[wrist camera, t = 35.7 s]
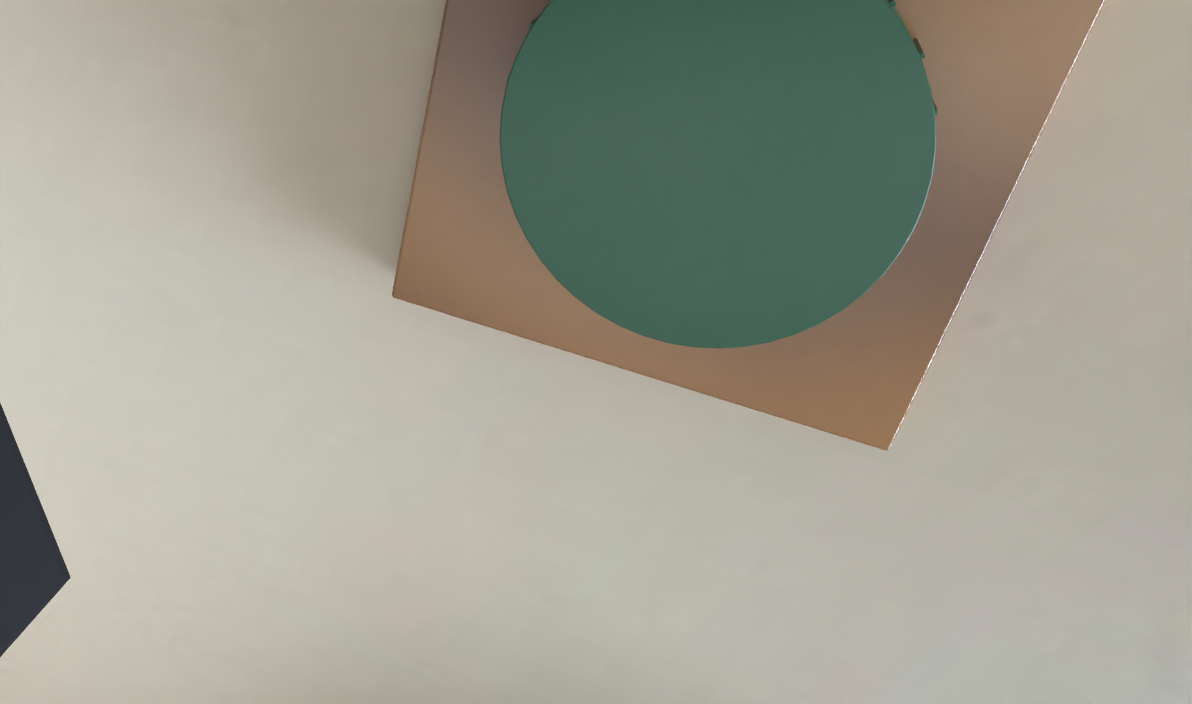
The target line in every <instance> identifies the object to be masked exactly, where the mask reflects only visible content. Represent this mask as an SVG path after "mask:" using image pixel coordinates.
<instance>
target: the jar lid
mask: <svg viewBox="0 0 1192 704" xmlns="http://www.w3.org/2000/svg"><path fill="white" fill-rule="evenodd" d="M896 5H897V4H896V2H895V0H551V1H550V2H549V3H548V5H547V6H546V7H545V8H544V9H543V11H542V12H541V14H539V15H538V16H537V17H536V18H535V19H534V20H533V21H532V22H531V23H530V24H529V26H528V27H529V28H530V30H529V31H528V33H527V35H526V37H525V39H524V41H523V43H522V45H521V47H520V49H519V51H518V53H517V55H516V57H515V60H514V63H513V66H512V69H511V72H510V73H509V74H508V77H507V79H508V81H507V84H506V89H505V94H504V99H503V104H502V109H501V123H500V151H501V164H502V169H503V175H504V180H505V185H506V190H507V193H508V196H509V199H510V202H511V205H512V208H513V211H514V214H515V216H516V218H517V220H518V222H519V224H520V226H521V228H522V231H523V233H524V235H525V237H526V239H527V240H528V242H529V243H530V245H531V246H532V248H533V250H534V251H535V253H536V254H537V256H538V257H539V259H540V260H541V262H542V263H543V264H544V265H545V266H546V268H547V269H548V270H549V271H550V272H551V274H552V275H553V276H554V277H555V278H556V280H557V281H559V282H560V283H561V284H562V285H563V286H564V287H565V288H566V289H567V290H568V291H569V292H570V293H571V294H572V295H573V296H574V297H576V298H577V299H578V300H580V301H581V302H582V303H584V304H585V305H586V306H588V307H589V308H590V309H592V310H593V311H594V312H596V313H597V314H599V315H601V316H603V317H604V318H606V319H608V320H610V321H611V322H613V323H615V324H617V325H618V326H621V327H623V328H625V329H628V330H630V331H633V332H635V333H637V334H640V335H642V336H645V337H649V338H652V339H655V340H659V341H662V342H666V343H671V344H676V345H682V346H688V347H697V348H716V349H721V348H737V347H748V346H753V345H759V344H764V343H770V342H773V341H776V340H780V339H783V338H786V337H790V336H793V335H796V334H798V333H800V332H803V331H805V330H807V329H810V328H812V327H814V326H816V325H819V324H821V323H822V322H824V321H826V320H827V319H829V318H831V317H832V316H834V315H836V314H837V313H839V312H841V311H842V310H844V309H845V308H847V307H848V306H849V305H850V304H852V303H853V302H854V301H856V300H857V299H858V298H859V297H861V296H862V295H863V294H865V293H866V292H867V291H868V290H869V289H870V288H871V287H872V286H873V285H874V284H875V283H876V282H877V281H878V280H879V279H880V278H881V277H882V276H883V275H884V273H885V272H886V271H887V270H888V268H889V267H890V266H891V264H892V263H893V262H894V260H895V259H896V258H897V257H898V255H899V254H900V253H901V251H902V249H903V248H904V246H905V244H906V242H907V241H908V239H909V237H910V236H911V234H912V232H913V230H914V229H915V226H916V224H917V222H918V219H919V217H920V214H921V212H922V210H923V207H924V205H925V202H926V199H927V195H928V191H929V187H930V184H931V180H932V176H933V172H934V171H935V165H934V161H935V153H936V117H935V115H938V109H937V107H936V105H935V103H934V100H933V98H932V92H931V88H930V84H929V81H928V78H927V75H926V71H925V68H924V65H923V62H922V59H923V58H925V54H924V52H923V50H922V48H921V46H920V43H919V41H918V39H917V38H915V39H913V40H912V38H911V35H910V33H909V31H908V29H907V27H906V25H905V23H904V21H903V18H902V16H901V15H900V13H899V12H898V10H897V9H896V7H895V6H896Z"/></svg>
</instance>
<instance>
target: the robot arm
mask: <svg viewBox="0 0 1192 704" xmlns="http://www.w3.org/2000/svg"><path fill="white" fill-rule="evenodd" d="M70 578H71V577H70V575H69V572H68V570H67V567H66V565H65V562H64V560H63V557H62V555H61V553H60V550H59V548H58V545H57V543H56V540H55V538H54V535H53V533H52V530H51V528H50V525H49V523H48V520H47V518H46V515H45V513H44V510H43V508H42V505H41V503H40V500H39V498H38V495H37V493H36V490H35V488H34V485H33V483H32V481H31V478H30V476H29V473H28V471H27V468H26V466H25V463H24V461H23V458H22V456H21V453H20V451H19V448H18V446H17V443H16V441H15V438H14V436H13V433H12V431H11V428H10V426H9V423H8V421H7V418H6V416H5V414H4V411H3V409H2V406H1V404H0V657H1V656H2V654H3V653H4V652H5V651H6V650H7V649H8V648H9V647H10V645H11V644H12V643H13V642H14V641H15V640H16V639H17V637H18V636H19V635H20V634H21V633H22V632H23V631H24V630H25V628H26V627H27V626H28V625H29V624H30V623H31V622H32V621H33V619H34V618H35V617H36V616H37V615H38V614H39V613H40V611H41V610H42V609H43V608H44V607H45V606H46V605H47V604H48V602H49V601H50V600H51V599H52V598H53V597H54V596H55V594H56V593H57V592H58V591H59V590H60V589H61V588H62V587H63V585H64V584H65V583H66V582H67V581H68V580H69V579H70Z"/></svg>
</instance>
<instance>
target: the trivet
mask: <svg viewBox="0 0 1192 704" xmlns="http://www.w3.org/2000/svg"><path fill="white" fill-rule="evenodd" d="M550 1H551V0H446V4H445V10H444V15H443V20H442V26H441V31H440V37H439V42H438V48H437V53H436V58H435V64H434V69H433V75H432V80H431V86H430V91H429V96H428V102H427V107H426V113H425V118H424V124H423V129H422V134H421V140H420V145H419V151H418V156H417V161H416V167H415V172H414V178H413V183H412V189H411V194H410V199H409V205H408V210H407V216H406V221H405V227H404V232H403V237H402V243H401V248H400V254H399V259H398V265H397V270H396V275H395V281H394V286H393V292H392V296H393V297H394V298H397V299H400V300H404V301H407V302H410V303H413V304H416V305H420V306H423V307H426V308H429V309H433V310H436V311H439V312H442V313H445V314H449V315H452V316H455V317H458V318H462V319H465V320H468V321H471V322H474V323H478V324H481V325H484V326H487V327H490V328H494V329H497V330H500V331H503V332H507V333H510V334H513V335H516V336H519V337H523V338H526V339H529V340H532V341H536V342H539V343H542V344H545V345H548V346H552V347H555V348H558V349H561V350H564V351H568V352H571V353H574V354H577V355H581V356H584V357H587V358H590V359H593V360H597V361H600V362H603V363H606V364H610V365H613V366H616V367H619V368H622V369H626V370H629V371H632V372H635V373H638V374H642V375H645V376H648V377H651V378H655V379H658V380H661V381H664V382H667V383H671V384H674V385H677V386H680V387H684V388H687V389H690V390H693V391H696V392H700V393H703V394H706V395H709V396H712V397H716V398H719V399H722V400H725V401H729V402H732V403H735V404H738V405H741V406H745V407H748V408H751V409H754V410H758V411H761V412H764V413H767V414H770V415H774V416H777V417H780V418H783V419H786V420H790V421H793V422H796V423H799V424H803V425H806V426H809V427H812V428H815V429H819V430H822V431H825V432H828V433H831V434H835V435H838V436H841V437H844V438H848V439H851V440H854V441H857V442H860V443H864V444H867V445H870V446H873V447H877V448H880V449H883V450H889V449H890V447H891V445H892V443H893V441H894V439H895V437H896V434H897V432H898V430H899V428H900V426H901V424H902V422H903V420H904V418H905V416H906V414H907V412H908V409H909V407H910V405H911V403H912V401H913V399H914V397H915V395H916V393H917V391H918V389H919V387H920V385H921V382H922V380H923V378H924V376H925V374H926V372H927V370H928V368H929V366H930V364H931V362H932V360H933V357H934V355H935V353H936V351H937V349H938V347H939V345H940V343H941V341H942V339H943V337H944V335H945V332H946V330H947V328H948V326H949V324H950V322H951V320H952V318H953V316H954V314H955V312H956V310H957V307H958V305H959V303H960V301H961V299H962V297H963V295H964V293H965V291H966V289H967V287H968V285H969V282H970V280H971V278H972V276H973V274H974V272H975V270H976V268H977V266H978V264H979V262H980V260H981V258H982V255H983V253H984V251H985V249H986V247H987V245H988V243H989V241H990V239H991V237H992V235H993V233H994V230H995V228H996V226H997V224H998V222H999V220H1000V218H1001V216H1002V214H1003V212H1004V210H1005V208H1006V205H1007V203H1008V201H1009V199H1010V197H1011V195H1012V193H1013V191H1014V189H1015V187H1016V185H1017V183H1018V180H1019V178H1020V176H1021V174H1022V172H1023V170H1024V168H1025V166H1026V164H1027V162H1028V160H1029V158H1030V155H1031V153H1032V151H1033V149H1034V147H1035V145H1036V143H1037V141H1038V139H1039V137H1040V135H1041V133H1042V131H1043V128H1044V126H1045V124H1046V122H1047V120H1048V118H1049V116H1050V114H1051V112H1052V110H1053V108H1054V106H1055V103H1056V101H1057V99H1058V97H1059V95H1060V93H1061V91H1062V89H1063V87H1064V85H1065V83H1066V81H1067V78H1068V76H1069V74H1070V72H1071V70H1072V68H1073V66H1074V64H1075V62H1076V60H1077V58H1078V56H1079V53H1080V51H1081V49H1082V47H1083V45H1084V43H1085V41H1086V39H1087V37H1088V35H1089V33H1090V31H1091V28H1092V26H1093V24H1094V22H1095V20H1096V18H1097V16H1098V14H1099V12H1100V10H1101V8H1102V6H1103V4H1104V1H1105V0H895V2H896V4H897V5H896V6H895V7H896V9H897V10H898V12H899V13H900V15H901V16H902V18H903V21H904V23H905V25H906V27H907V29H908V31H909V33H910V35H911V38H912V40H913V39H915V38H917V39H918V41H919V43H920V46H921V48H922V50H923V52H924V54H925V58H923V59H922V62H923V65H924V68H925V71H926V75H927V78H928V81H929V84H930V88H931V92H932V98H933V100H934V103H935V105H936V107H937V109H938V115H935V117H936V153H935V161H934V165H935V171H934V172H933V176H932V180H931V184H930V187H929V191H928V195H927V199H926V202H925V205H924V207H923V210H922V212H921V214H920V217H919V219H918V222H917V224H916V226H915V229H914V230H913V232H912V234H911V236H910V237H909V239H908V241H907V242H906V244H905V246H904V248H903V249H902V251H901V253H900V254H899V255H898V257H897V258H896V259H895V260H894V262H893V263H892V264H891V266H890V267H889V268H888V270H887V271H886V272H885V273H884V275H883V276H882V277H881V278H880V279H879V280H878V281H877V282H876V283H875V284H874V285H873V286H872V287H871V288H870V289H869V290H868V291H867V292H866V293H865V294H863V295H862V296H861V297H859V298H858V299H857V300H856V301H854V302H853V303H852V304H850V305H849V306H848V307H847V308H845V309H844V310H842V311H841V312H839V313H837V314H836V315H834V316H832V317H831V318H829V319H827V320H826V321H824V322H822V323H821V324H819V325H816V326H814V327H812V328H810V329H807V330H805V331H803V332H800V333H798V334H796V335H793V336H790V337H786V338H783V339H780V340H776V341H773V342H770V343H764V344H759V345H753V346H748V347H737V348H721V349H716V348H697V347H688V346H682V345H676V344H671V343H666V342H662V341H659V340H655V339H652V338H649V337H645V336H642V335H640V334H637V333H635V332H633V331H630V330H628V329H625V328H623V327H621V326H618V325H617V324H615V323H613V322H611V321H610V320H608V319H606V318H604V317H603V316H601V315H599V314H597V313H596V312H594V311H593V310H592V309H590V308H589V307H588V306H586V305H585V304H584V303H582V302H581V301H580V300H578V299H577V298H576V297H574V296H573V295H572V294H571V293H570V292H569V291H568V290H567V289H566V288H565V287H564V286H563V285H562V284H561V283H560V282H559V281H557V280H556V278H555V277H554V276H553V275H552V274H551V272H550V271H549V270H548V269H547V268H546V266H545V265H544V264H543V263H542V262H541V260H540V259H539V257H538V256H537V254H536V253H535V251H534V250H533V248H532V246H531V245H530V243H529V242H528V240H527V239H526V237H525V235H524V233H523V231H522V228H521V226H520V224H519V222H518V220H517V218H516V216H515V214H514V211H513V208H512V205H511V202H510V199H509V196H508V193H507V190H506V185H505V180H504V175H503V169H502V164H501V151H500V123H501V109H502V104H503V99H504V94H505V89H506V84H507V81H508V79H507V77H508V74H509V73H510V72H511V69H512V66H513V63H514V60H515V57H516V55H517V53H518V51H519V49H520V47H521V45H522V43H523V41H524V39H525V37H526V35H527V33H528V31H529V30H530V28H529V27H528V26H529V24H530V23H531V22H532V21H533V20H534V19H535V18H536V17H537V16H538V15H539V14H541V12H542V11H543V9H544V8H545V7H546V6H547V5H548V3H549V2H550Z"/></svg>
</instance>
